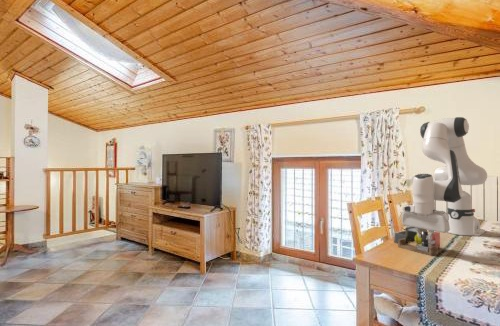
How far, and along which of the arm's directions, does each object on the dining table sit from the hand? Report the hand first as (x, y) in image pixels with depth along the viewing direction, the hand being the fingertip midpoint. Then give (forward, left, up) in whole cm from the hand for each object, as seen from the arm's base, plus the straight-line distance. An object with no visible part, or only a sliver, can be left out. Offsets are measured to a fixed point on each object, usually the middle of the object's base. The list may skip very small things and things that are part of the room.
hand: (424, 238), depth 130 cm
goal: (-9, -14, -7) cm, 18 cm away
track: (0, -4, -7) cm, 8 cm away
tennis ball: (-9, -6, -7) cm, 13 cm away
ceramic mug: (-23, -17, -7) cm, 29 cm away
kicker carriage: (-4, 0, -5) cm, 7 cm away
